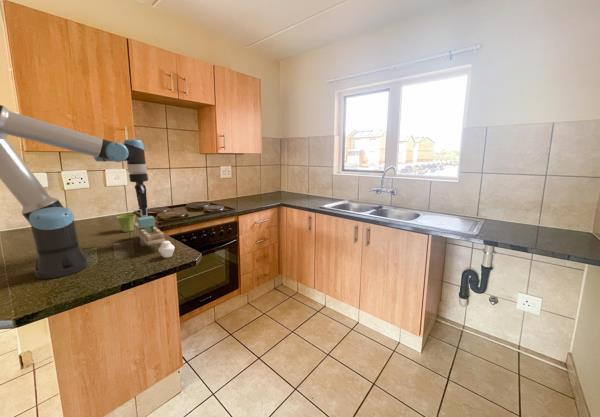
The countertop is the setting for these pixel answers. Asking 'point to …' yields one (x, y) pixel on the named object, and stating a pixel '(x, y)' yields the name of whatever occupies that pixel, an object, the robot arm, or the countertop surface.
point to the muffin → (166, 249)
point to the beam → (149, 235)
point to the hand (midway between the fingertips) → (145, 221)
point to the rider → (146, 223)
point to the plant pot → (126, 222)
